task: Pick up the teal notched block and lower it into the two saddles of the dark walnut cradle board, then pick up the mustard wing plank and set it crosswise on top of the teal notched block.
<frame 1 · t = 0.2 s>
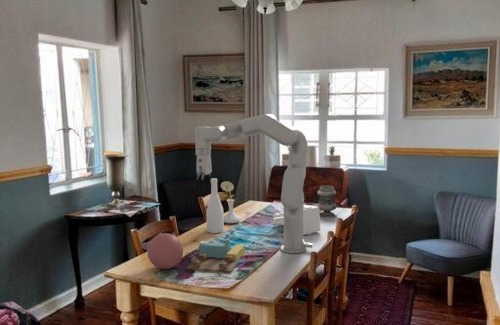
hand: (204, 185, 225), 31 cm above the table, tool pointing down, fingers open, 9 cm apart
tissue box: (294, 229, 254), on the table
balloon: (161, 267, 199), on the table
jig: (212, 266, 198), on the table
wing: (236, 257, 210), on the table
teal notched block: (215, 256, 212), on the table
apothecary jar: (326, 215, 285), on the table
wine bottle: (215, 231, 252), on the table
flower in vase: (230, 222, 271), on the table
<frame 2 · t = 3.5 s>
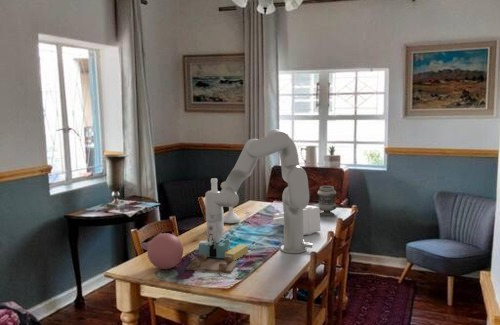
hand: (214, 254, 212), 1 cm above the table, tool pointing down, fingers closed on teal notched block, 4 cm apart
teal notched block: (214, 256, 212), on the table, touching gripper
when the fingers open (3 cm above the table, at t = 8.6 s): teal notched block drops 2 cm, resting on jig.
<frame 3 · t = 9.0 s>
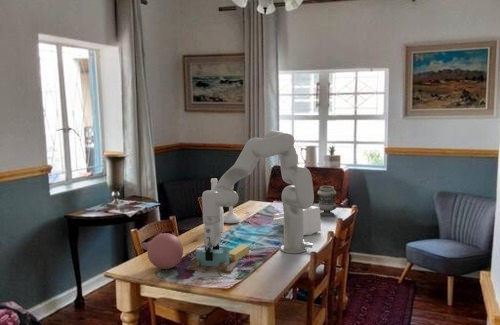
hand: (212, 256, 198), 4 cm above the table, tool pointing down, fingers open, 9 cm apart
teal notched block: (212, 264, 198), point 1 cm above the table, touching jig
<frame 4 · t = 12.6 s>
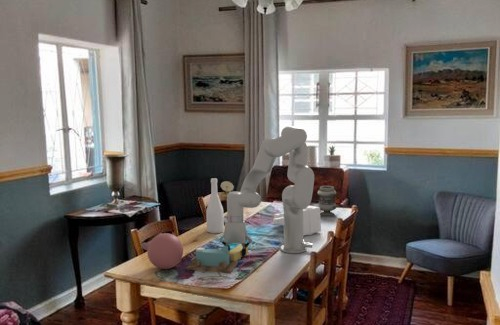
hand: (236, 255, 210), 1 cm above the table, tool pointing down, fingers open, 6 cm apart
wing: (237, 257, 210), on the table, touching gripper
everything else where it was.
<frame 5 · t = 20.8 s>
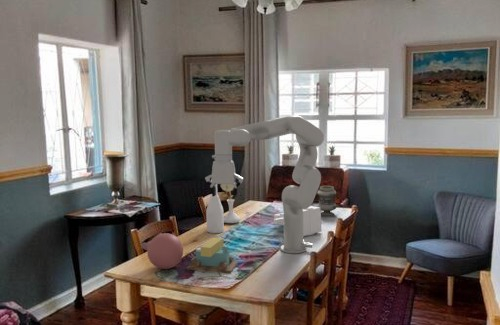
hand: (224, 196, 200), 30 cm above the table, tool pointing down, fingers open, 9 cm apart
wing: (212, 251, 197), point 7 cm above the table, touching teal notched block
teal notched block: (212, 264, 198), point 1 cm above the table, touching jig, wing
at the end: teal notched block 0.1 cm off-centre on the jig, point 1.0 cm above the jig's base; wing inside the target area on the teal notched block (0.2 cm from its centre), point 6.0 cm above the teal notched block's base; the gripper is holding nothing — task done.
